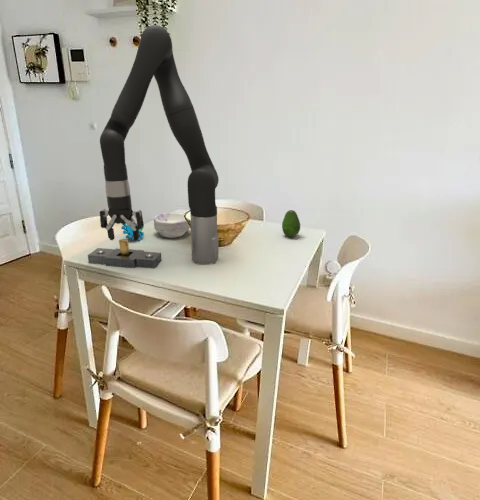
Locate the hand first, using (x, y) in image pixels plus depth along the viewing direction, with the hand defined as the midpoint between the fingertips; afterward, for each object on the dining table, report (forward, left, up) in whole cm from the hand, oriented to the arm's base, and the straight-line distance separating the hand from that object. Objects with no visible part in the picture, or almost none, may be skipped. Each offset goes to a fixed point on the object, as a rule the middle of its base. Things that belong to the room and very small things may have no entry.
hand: (124, 239), depth 123 cm
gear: (+7, -24, -9) cm, 26 cm away
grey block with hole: (0, -1, -8) cm, 8 cm away
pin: (0, -1, -9) cm, 9 cm away
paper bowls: (-7, -33, -9) cm, 34 cm away
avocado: (-58, -40, -9) cm, 70 cm away
